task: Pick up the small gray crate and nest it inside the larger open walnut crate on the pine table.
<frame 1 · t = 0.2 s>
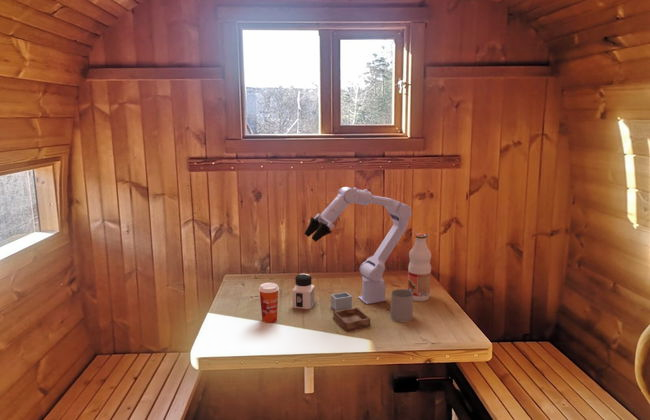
hand: (309, 237, 194), 31 cm above the table, tool tilted 45°, fingers open, 7 cm apart
fruit juice: (418, 297, 214), on the table
gray crate: (341, 308, 203), on the table
walnut crate: (351, 322, 190), on the table
cup: (401, 317, 195), on the table
container: (303, 305, 206), on the table
paper cup: (269, 320, 192), on the table
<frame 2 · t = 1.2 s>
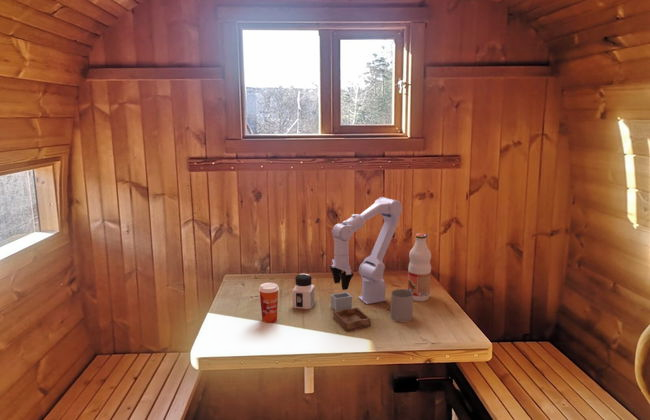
hand: (341, 286, 201), 10 cm above the table, tool pointing down, fingers open, 7 cm apart
nothing on the table moved.
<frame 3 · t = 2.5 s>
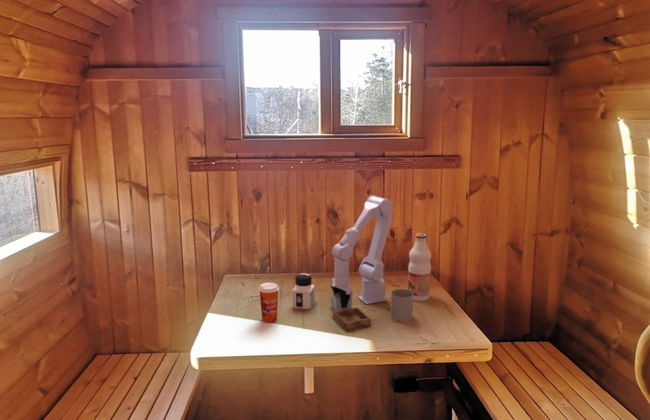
hand: (341, 304, 203), 1 cm above the table, tool pointing down, fingers closed on gray crate, 5 cm apart
gray crate: (341, 308, 203), on the table, touching gripper
everything else where it was.
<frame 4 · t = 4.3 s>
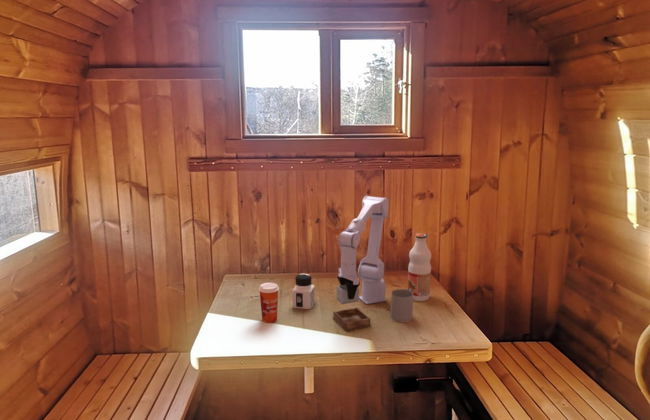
hand: (348, 296, 192), 9 cm above the table, tool pointing down, fingers closed on gray crate, 5 cm apart
gray crate: (347, 300, 192), point 7 cm above the table, touching gripper
everything else where it was.
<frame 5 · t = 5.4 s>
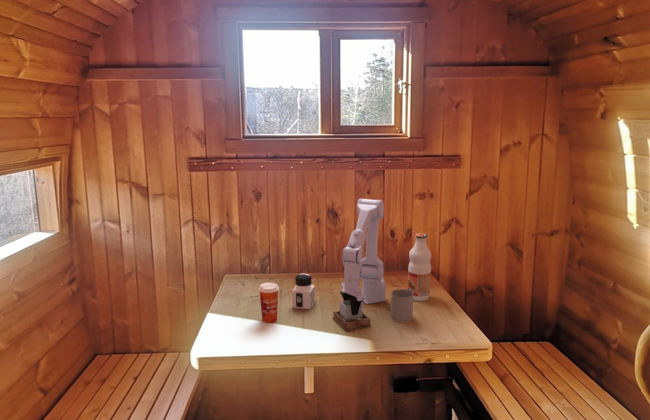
hand: (351, 311, 189), 4 cm above the table, tool pointing down, fingers closed on gray crate, 5 cm apart
gray crate: (351, 316, 189), point 3 cm above the table, touching gripper
everything else where it was.
when the fingers open (4 cm above the table, at t = 6.0 s): gray crate drops 2 cm, resting on walnut crate.
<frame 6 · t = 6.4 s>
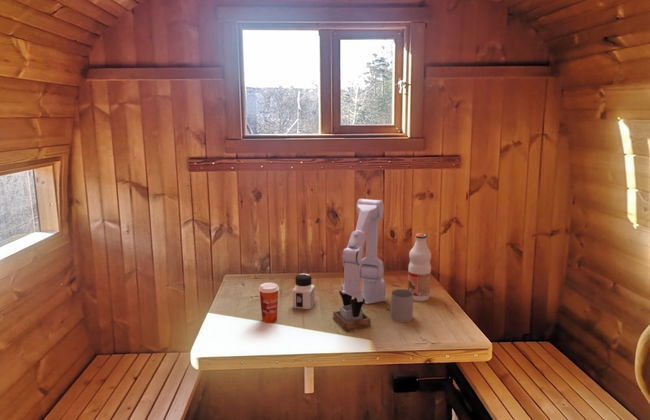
hand: (351, 312, 189), 4 cm above the table, tool pointing down, fingers open, 7 cm apart
gray crate: (351, 321, 190), point 1 cm above the table, touching walnut crate
everything else where it was.
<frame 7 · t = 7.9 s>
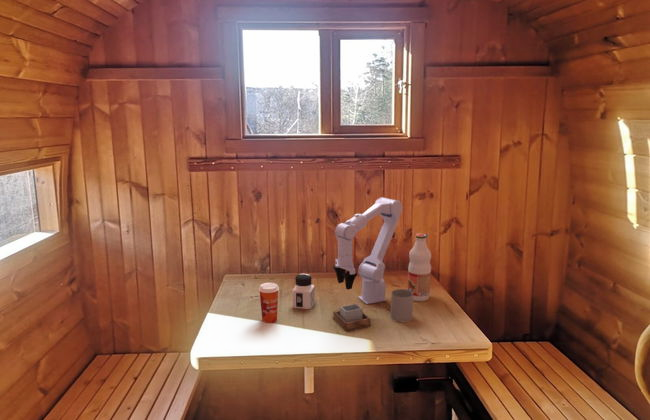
hand: (344, 285, 200), 10 cm above the table, tool pointing down, fingers open, 7 cm apart
nothing on the table moved.
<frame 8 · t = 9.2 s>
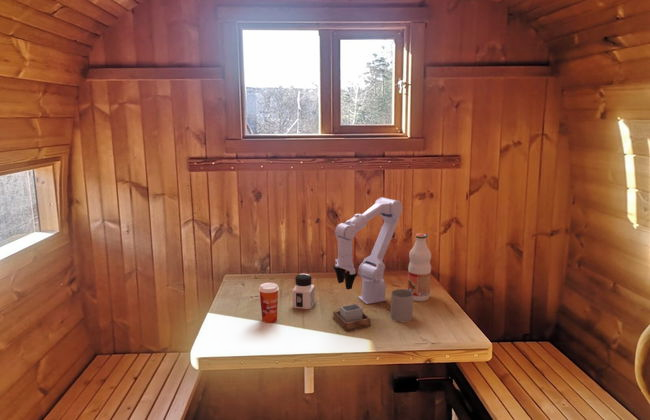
hand: (344, 285, 200), 10 cm above the table, tool pointing down, fingers open, 7 cm apart
nothing on the table moved.
at the end: gray crate 0.2 cm off-centre on the walnut crate, point 0.6 cm above the walnut crate's base; gray crate tilted 0°; the gripper is holding nothing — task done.
